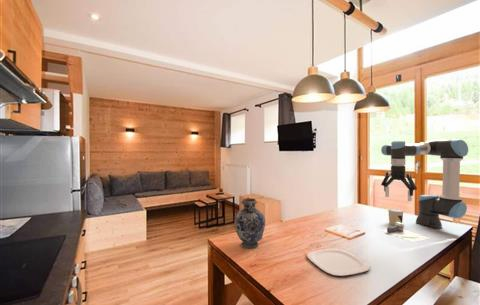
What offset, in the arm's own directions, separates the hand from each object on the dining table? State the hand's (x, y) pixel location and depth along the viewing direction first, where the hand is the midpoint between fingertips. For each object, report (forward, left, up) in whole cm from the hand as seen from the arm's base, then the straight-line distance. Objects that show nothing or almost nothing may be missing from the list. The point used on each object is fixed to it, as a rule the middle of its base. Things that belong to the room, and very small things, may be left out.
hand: (397, 198), depth 142 cm
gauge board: (-10, -3, -26) cm, 29 cm away
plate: (+57, +9, -27) cm, 64 cm away
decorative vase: (+91, -26, -27) cm, 99 cm away
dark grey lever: (-9, -8, -25) cm, 27 cm away
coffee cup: (-25, -19, -27) cm, 41 cm away
